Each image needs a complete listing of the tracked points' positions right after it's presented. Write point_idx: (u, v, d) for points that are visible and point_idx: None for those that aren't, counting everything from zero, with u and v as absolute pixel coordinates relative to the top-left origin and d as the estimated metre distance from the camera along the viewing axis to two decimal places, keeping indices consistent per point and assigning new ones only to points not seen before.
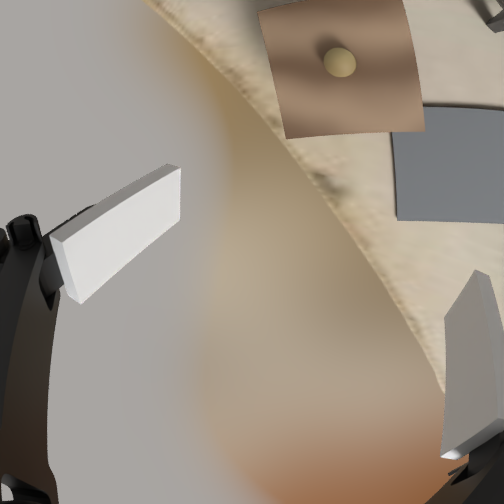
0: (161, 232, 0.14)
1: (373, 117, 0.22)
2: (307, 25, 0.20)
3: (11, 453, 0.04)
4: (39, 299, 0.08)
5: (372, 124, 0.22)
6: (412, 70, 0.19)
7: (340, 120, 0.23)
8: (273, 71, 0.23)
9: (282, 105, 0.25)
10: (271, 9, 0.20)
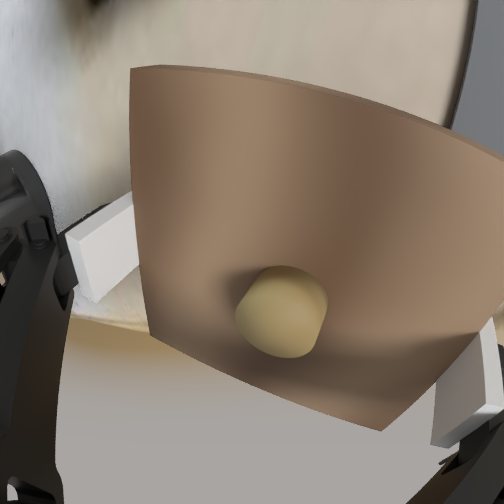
0: None
1: (455, 309, 0.07)
2: (188, 299, 0.12)
3: (18, 455, 0.04)
4: (52, 299, 0.08)
5: (468, 317, 0.07)
6: (379, 129, 0.06)
7: (414, 366, 0.09)
8: (258, 386, 0.13)
9: (325, 410, 0.12)
10: (149, 320, 0.14)
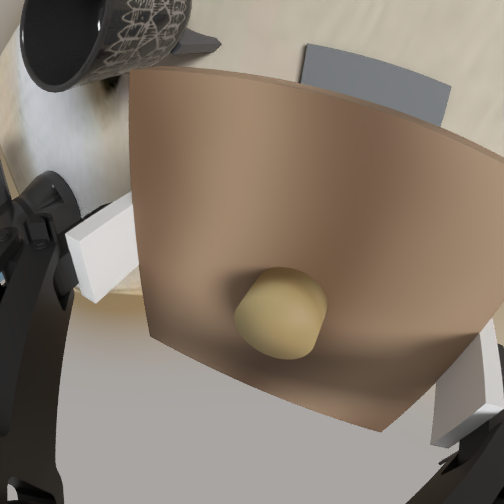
0: None
1: (455, 310, 0.07)
2: (187, 301, 0.12)
3: (19, 455, 0.04)
4: (53, 299, 0.08)
5: (467, 318, 0.07)
6: (379, 130, 0.06)
7: (413, 367, 0.09)
8: (258, 387, 0.13)
9: (324, 411, 0.12)
10: (149, 321, 0.14)
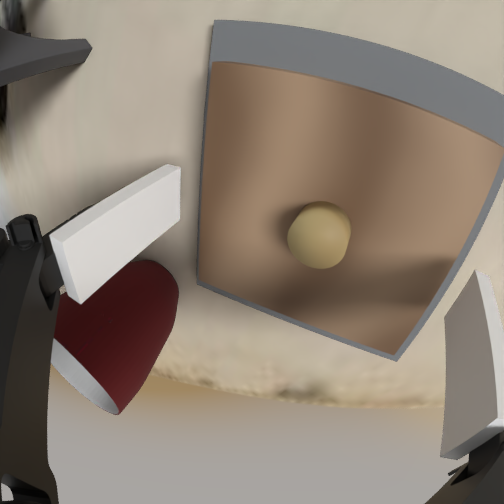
0: (161, 232, 0.14)
1: (441, 230, 0.11)
2: (241, 238, 0.16)
3: (11, 453, 0.04)
4: (39, 299, 0.08)
5: (450, 236, 0.11)
6: (382, 108, 0.10)
7: (416, 282, 0.13)
8: (292, 316, 0.17)
9: (347, 334, 0.16)
10: (201, 263, 0.18)
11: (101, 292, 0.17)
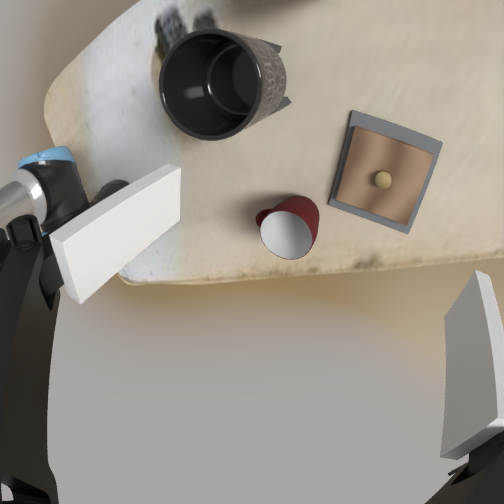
0: (161, 232, 0.14)
1: (416, 178, 0.40)
2: (356, 182, 0.45)
3: (11, 453, 0.04)
4: (39, 299, 0.08)
5: (419, 180, 0.40)
6: (400, 145, 0.39)
7: (411, 194, 0.42)
8: (371, 211, 0.46)
9: (390, 217, 0.45)
10: (338, 192, 0.47)
11: (300, 202, 0.46)
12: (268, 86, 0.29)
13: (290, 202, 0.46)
